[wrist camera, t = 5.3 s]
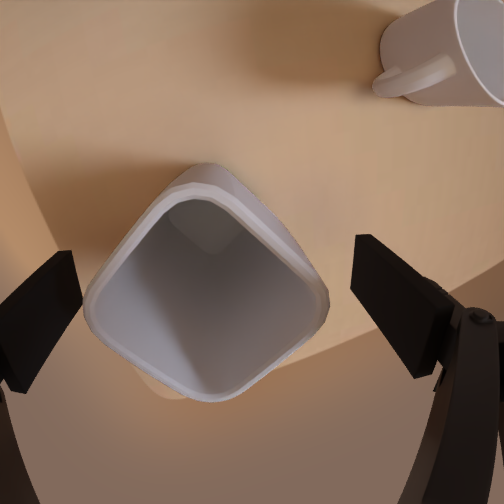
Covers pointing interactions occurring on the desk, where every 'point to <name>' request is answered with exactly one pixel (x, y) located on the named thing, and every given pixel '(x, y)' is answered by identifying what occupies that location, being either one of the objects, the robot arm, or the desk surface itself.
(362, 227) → the desk surface
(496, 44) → the mug
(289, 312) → the cup
